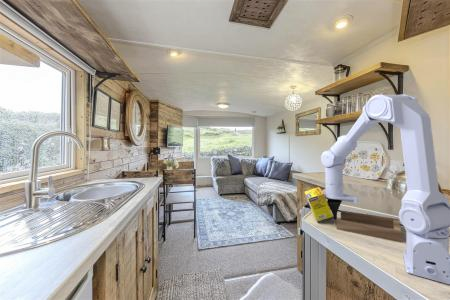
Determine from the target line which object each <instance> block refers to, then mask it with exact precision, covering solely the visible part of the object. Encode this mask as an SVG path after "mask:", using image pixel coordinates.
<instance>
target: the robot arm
mask: <svg viewBox="0 0 450 300" xmlns="http://www.w3.org/2000/svg"><path fill="white" fill-rule="evenodd" d="M418 100H419V99H418V98H417V97H415V96H412V95H409V94H404V93H401V94H376V95H373V96H371V97H370V98H369V99H368V100H367V102H366V104H365V105H364V106H363V107H362V112H361V114H360V115H359V117H358V118H357V119H356V121H355V123H354V124H353V125H352V126H351V128H350V130H349V131H348V133H346V135H345V134H343V135H341V136H338V137H337V140H336V142H335V143H334V144H333V145H332V146H331V147H330V148H329V149H328V150H325V151H323V152H322V154H321V156H320V161H321V162H320V163H321V164H322V166H324V179H325V180H324V183H325V184H324V185H325V191H322V192H323V193H324V195H325V198H326V200H327V203H328V205H329V208H330V211H331V213H332V216H333V219H332V220H335V221H336V220H337V219H338V212H339V209H340V206H341V204H342V202H347V203H354V204H358V203H359V196H355V195H350V194H345V193H344V183H343V182H344V179H343V178H344V177H343V176H344V175H343V171H344V169H345V167H344V166H345V165H346V162H347V157H348V156H350V154H351V153H352V152H353V151H354V150H355V149H356V148H357V146H358V142H357V141H358V140H359V139H360V138H361V137H362V136H364V135H365V134H366V132H367V131H369V130H370V129H371V128H372V127H373V126H374V125H375V124H379V123H383V122H387V123H389V124H391V125H393V126H395V127H397V128H399V130H400V138H401V148H402V155H403V165H404V175H405V182H406V192H405V194H404V195H403V196H402V198H401V200H400V202H401V208H400V209H399V212H398V218H399V222H400V223H401V224H402V226H403V227H404V230H405V234H406V235H405V240H406V241H405V242H406V244H405V246H406V247H405V248H406V251H403V252H402V253H403V259H404V267H405V271H406V274H411V275H414V276H417V277H421V278H426V279H428V280H432V281H436V282H440V283H443V284H447V285H450V232H449V231H450V201H449V197H448V196H446V195H445V194H443V193H442V192H440V188H439V181H438V180H439V179H438V172H437V163H436V155H435V147H434V139H433V137H434V136H433V132H432V131H433V128H432V121H431V117H430V114H429V113H428V112H427V111H426V110H425V108H423V107H422V106H421V105H420V104H419V101H418Z"/></svg>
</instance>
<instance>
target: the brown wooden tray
mask: <svg viewBox="0 0 450 300" xmlns="http://www.w3.org/2000/svg"><path fill="white" fill-rule="evenodd" d="M335 223H336V230H339V231H345V232H349V233H354V234H359V235H363V236H369V237H374V238H377V239H381V240H386V241H387V240H388V241H393V242H395V243H396V242H397V243H402V230H401V225H400V223H401V222H400V219H398V218H394V217H393V218H392V217H387V216H379V215H373V214H367V213H361V212H360V213H359V212H355V211H349V210H348V211H347V210H340V219H338V218H337V219H336V220H335Z"/></svg>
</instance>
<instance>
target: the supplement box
mask: <svg viewBox="0 0 450 300" xmlns="http://www.w3.org/2000/svg"><path fill="white" fill-rule="evenodd" d="M323 192H324V191H322V189H321V188H320V187H319V186H318V187H317V186H316V187H315V188H311V189H308V190H306V191H304V195H305V196H306V197H305V198H306V199H307V202H308V204H309V207H310V210H311V212H312V214H313V217H314V219H315V221H316V222H317V224H318V223H319V224H320V223H322V222H325V221H330V220H334V219H333V214H332V211H331V209H330V207H329V205H328V203H327V199H326V198H325V195H324V193H323Z"/></svg>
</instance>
